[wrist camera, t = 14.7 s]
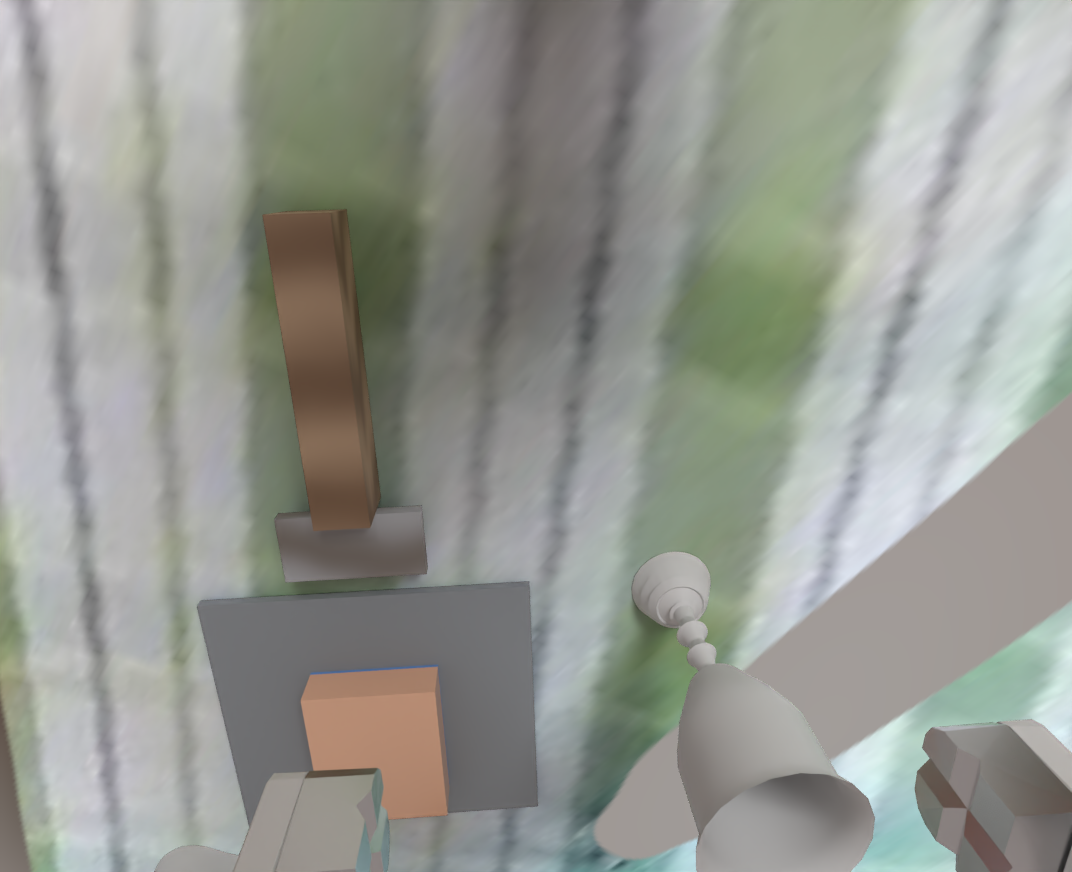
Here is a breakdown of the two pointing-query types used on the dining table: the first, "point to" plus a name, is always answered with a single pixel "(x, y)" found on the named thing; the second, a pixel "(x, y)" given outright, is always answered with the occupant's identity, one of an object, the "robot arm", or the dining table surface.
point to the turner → (332, 412)
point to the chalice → (749, 752)
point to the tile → (383, 732)
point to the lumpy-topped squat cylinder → (197, 860)
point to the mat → (382, 642)
